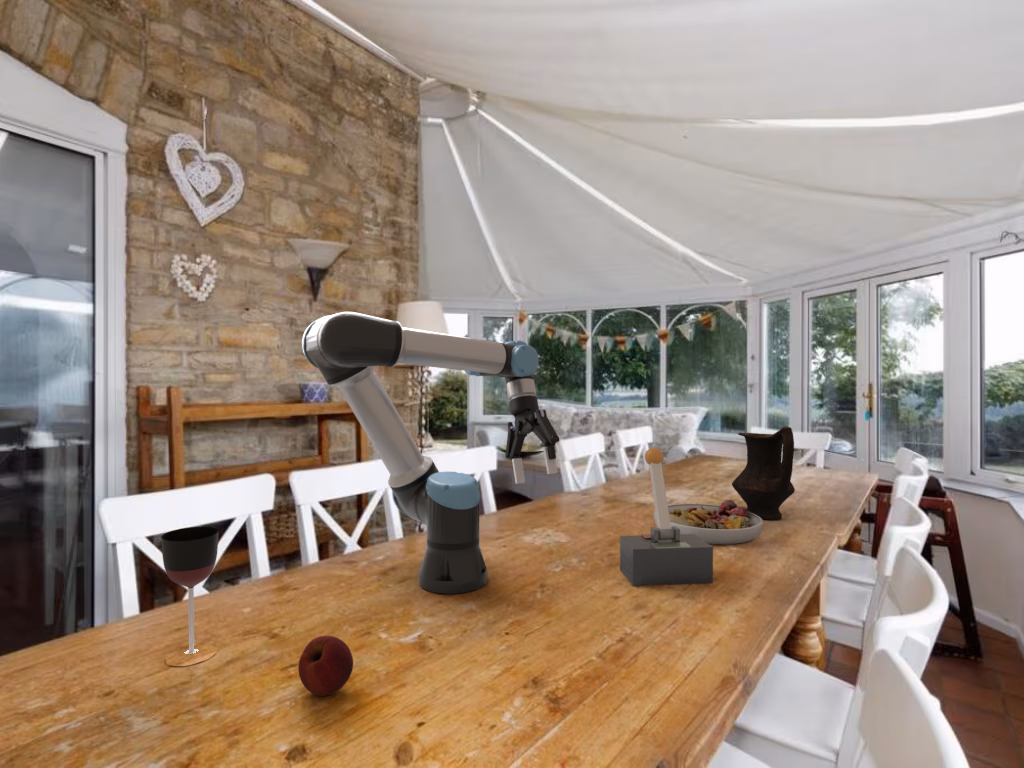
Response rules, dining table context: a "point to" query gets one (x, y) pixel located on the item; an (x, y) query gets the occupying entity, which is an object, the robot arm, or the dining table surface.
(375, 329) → the robot arm
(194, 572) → the wineglass
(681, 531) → the bowl
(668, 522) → the lever
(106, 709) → the dining table surface
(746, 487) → the jug
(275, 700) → the dining table surface
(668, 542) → the switch box
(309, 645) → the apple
